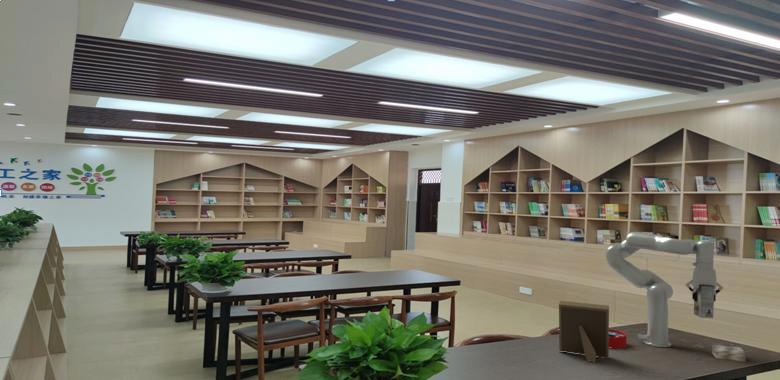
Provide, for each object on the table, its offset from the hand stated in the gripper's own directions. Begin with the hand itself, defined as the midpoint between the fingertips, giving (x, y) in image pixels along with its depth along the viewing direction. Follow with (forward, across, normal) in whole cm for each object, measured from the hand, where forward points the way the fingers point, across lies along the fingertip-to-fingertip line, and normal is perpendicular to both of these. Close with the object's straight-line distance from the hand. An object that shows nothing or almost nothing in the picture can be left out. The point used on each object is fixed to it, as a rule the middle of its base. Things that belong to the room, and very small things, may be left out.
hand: (703, 301), depth 261 cm
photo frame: (+26, -54, -39) cm, 71 cm away
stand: (+25, +10, -3) cm, 27 cm away
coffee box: (+8, 0, 0) cm, 8 cm away
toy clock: (+26, -45, -5) cm, 52 cm away
